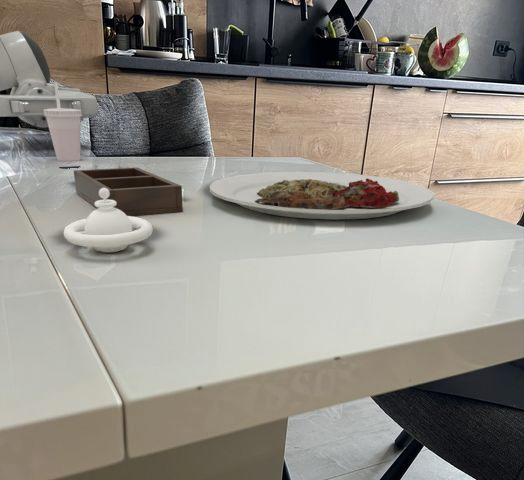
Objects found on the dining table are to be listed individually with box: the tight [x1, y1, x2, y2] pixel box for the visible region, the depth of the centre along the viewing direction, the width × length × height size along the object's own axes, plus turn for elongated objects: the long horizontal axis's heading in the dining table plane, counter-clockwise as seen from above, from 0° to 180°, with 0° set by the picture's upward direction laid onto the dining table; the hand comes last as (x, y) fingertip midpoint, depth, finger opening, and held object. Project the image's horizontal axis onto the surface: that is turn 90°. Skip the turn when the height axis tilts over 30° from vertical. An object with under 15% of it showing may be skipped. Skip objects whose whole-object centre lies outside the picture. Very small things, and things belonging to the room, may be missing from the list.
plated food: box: [208, 171, 435, 220], centre depth 74 cm, size 30×30×3 cm
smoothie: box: [44, 81, 82, 170], centre depth 96 cm, size 6×6×14 cm
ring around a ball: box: [63, 188, 154, 253], centre depth 50 cm, size 8×6×8 cm
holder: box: [73, 166, 184, 217], centre depth 72 cm, size 9×17×3 cm, turn 29°
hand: (51, 107), depth 104 cm, fingers open, 8 cm apart
